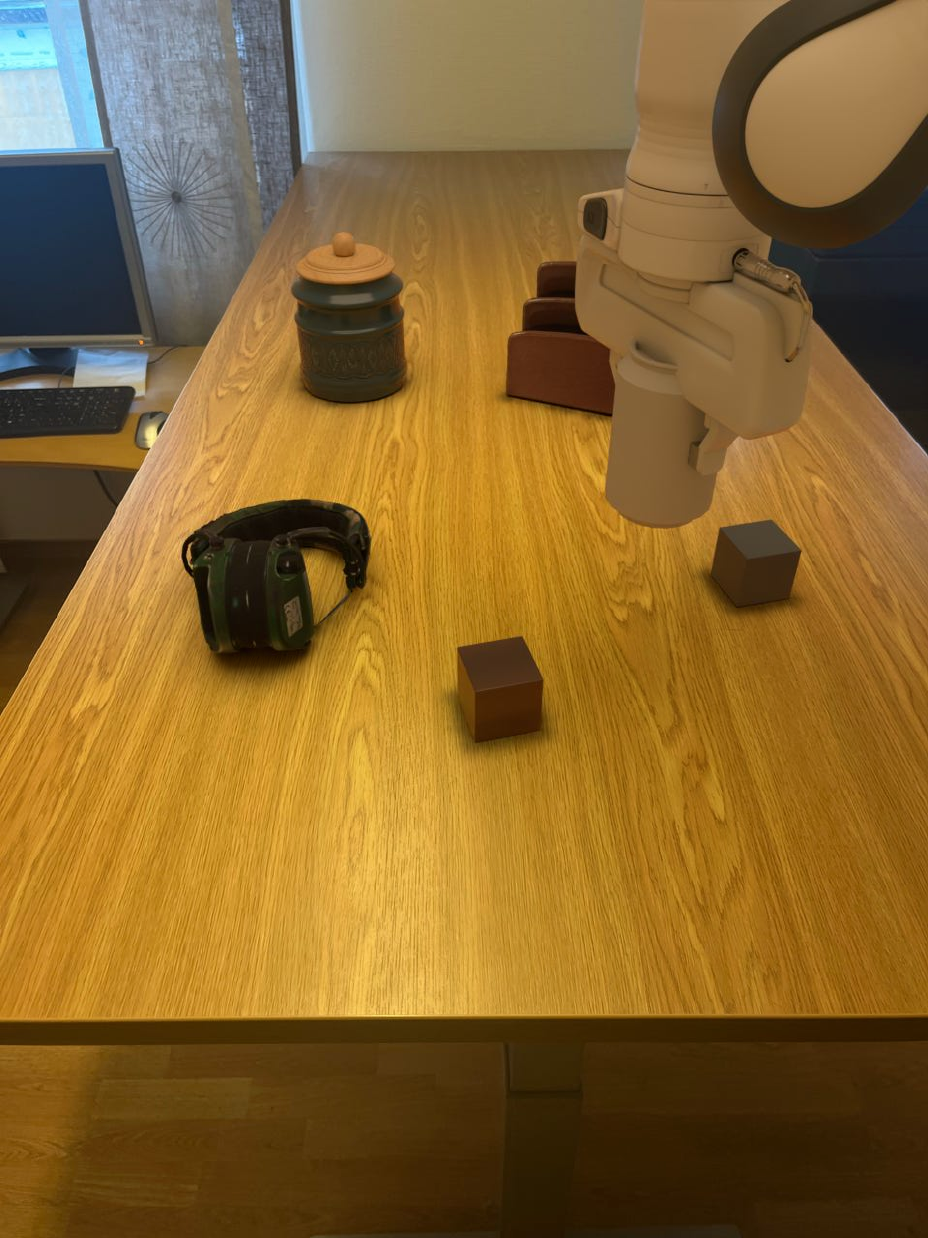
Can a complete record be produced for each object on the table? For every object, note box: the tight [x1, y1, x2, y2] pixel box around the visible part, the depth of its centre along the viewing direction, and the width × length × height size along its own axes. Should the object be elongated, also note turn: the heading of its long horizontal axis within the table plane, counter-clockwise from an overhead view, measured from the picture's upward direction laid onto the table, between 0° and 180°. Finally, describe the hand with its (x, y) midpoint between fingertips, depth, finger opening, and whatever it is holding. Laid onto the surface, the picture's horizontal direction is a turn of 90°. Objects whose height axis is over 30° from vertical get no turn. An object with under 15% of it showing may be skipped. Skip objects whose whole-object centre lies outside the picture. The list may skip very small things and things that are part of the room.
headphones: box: [180, 498, 373, 655], centre depth 78 cm, size 13×13×20 cm
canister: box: [290, 231, 408, 403], centre depth 111 cm, size 13×13×18 cm
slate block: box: [710, 519, 803, 608], centre depth 81 cm, size 5×5×5 cm
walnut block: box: [456, 635, 545, 743], centre depth 69 cm, size 5×5×5 cm
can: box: [604, 339, 718, 530], centre depth 64 cm, size 8×8×12 cm
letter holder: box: [505, 260, 615, 416], centre depth 109 cm, size 10×20×14 cm, turn 65°
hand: (665, 440), depth 64 cm, fingers closed on can, 7 cm apart
